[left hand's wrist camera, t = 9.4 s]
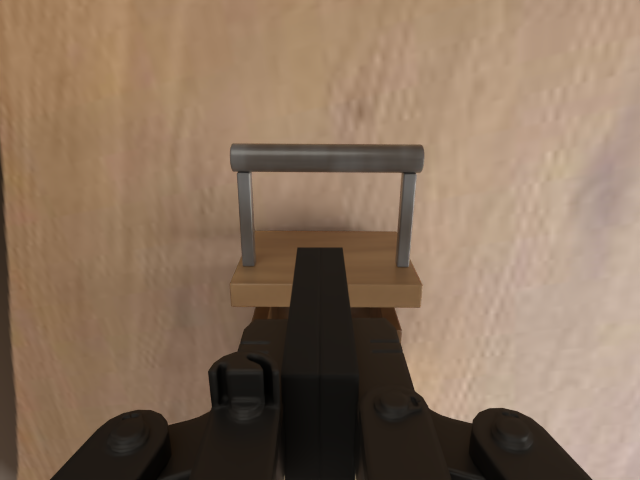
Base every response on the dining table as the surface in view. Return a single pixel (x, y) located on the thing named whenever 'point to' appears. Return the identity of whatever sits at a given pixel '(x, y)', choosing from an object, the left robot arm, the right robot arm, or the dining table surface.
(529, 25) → the dining table surface
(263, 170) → the drawer
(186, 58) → the dining table surface
